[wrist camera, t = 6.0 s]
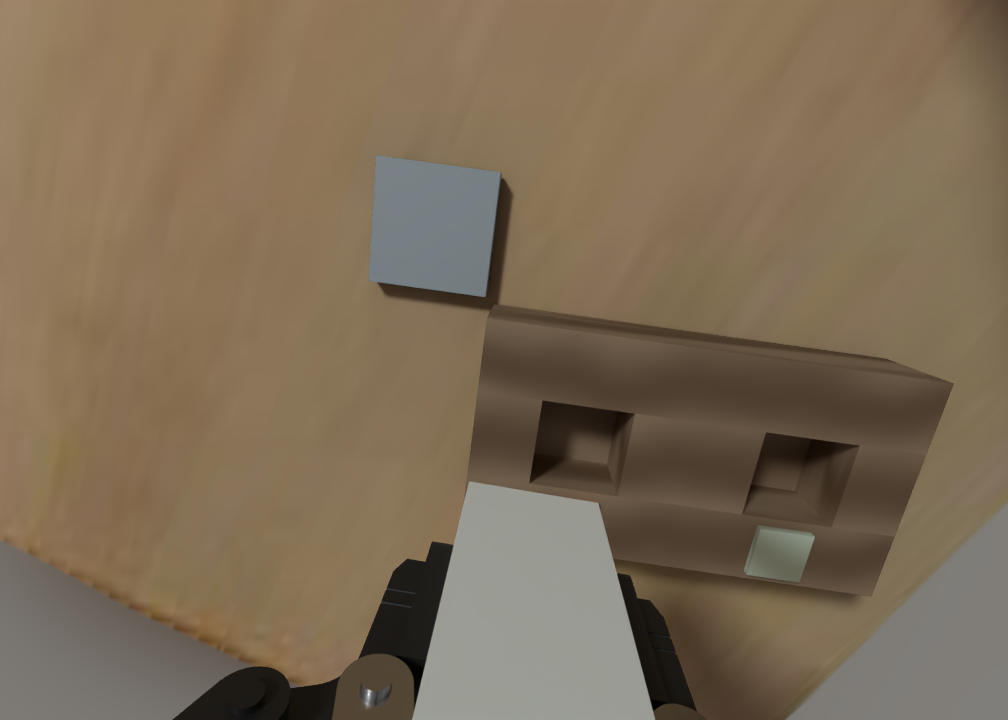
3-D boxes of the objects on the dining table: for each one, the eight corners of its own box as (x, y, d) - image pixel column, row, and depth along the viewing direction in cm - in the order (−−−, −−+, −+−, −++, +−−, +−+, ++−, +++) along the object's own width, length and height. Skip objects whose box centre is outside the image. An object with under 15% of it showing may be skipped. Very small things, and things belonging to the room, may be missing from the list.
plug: (469, 481, 14) (344, 1001, 4) (598, 503, 14) (748, 1071, 4) (451, 591, 15) (317, 1216, 5) (572, 612, 15) (652, 1277, 5)
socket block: (493, 304, 31) (486, 319, 25) (886, 358, 30) (960, 386, 25) (469, 492, 34) (458, 540, 29) (822, 543, 34) (876, 601, 28)
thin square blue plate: (381, 157, 29) (376, 155, 28) (501, 174, 29) (500, 172, 28) (373, 279, 31) (368, 280, 30) (486, 294, 30) (485, 297, 29)
